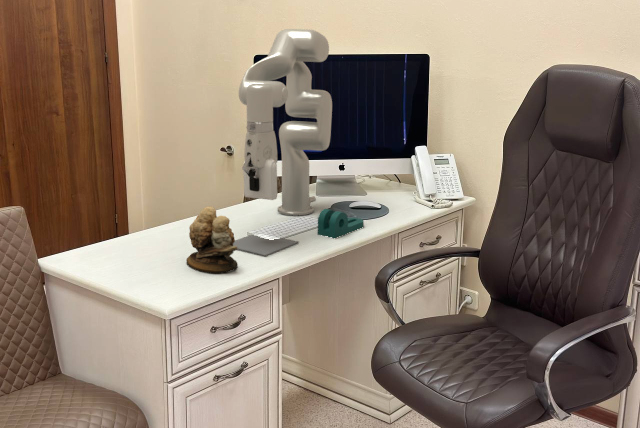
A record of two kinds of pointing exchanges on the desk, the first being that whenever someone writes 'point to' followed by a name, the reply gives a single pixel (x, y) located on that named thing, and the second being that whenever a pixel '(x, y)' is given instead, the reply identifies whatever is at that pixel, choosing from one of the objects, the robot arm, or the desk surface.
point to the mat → (263, 245)
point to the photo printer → (263, 182)
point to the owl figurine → (212, 243)
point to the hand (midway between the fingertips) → (260, 188)
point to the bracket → (336, 223)
